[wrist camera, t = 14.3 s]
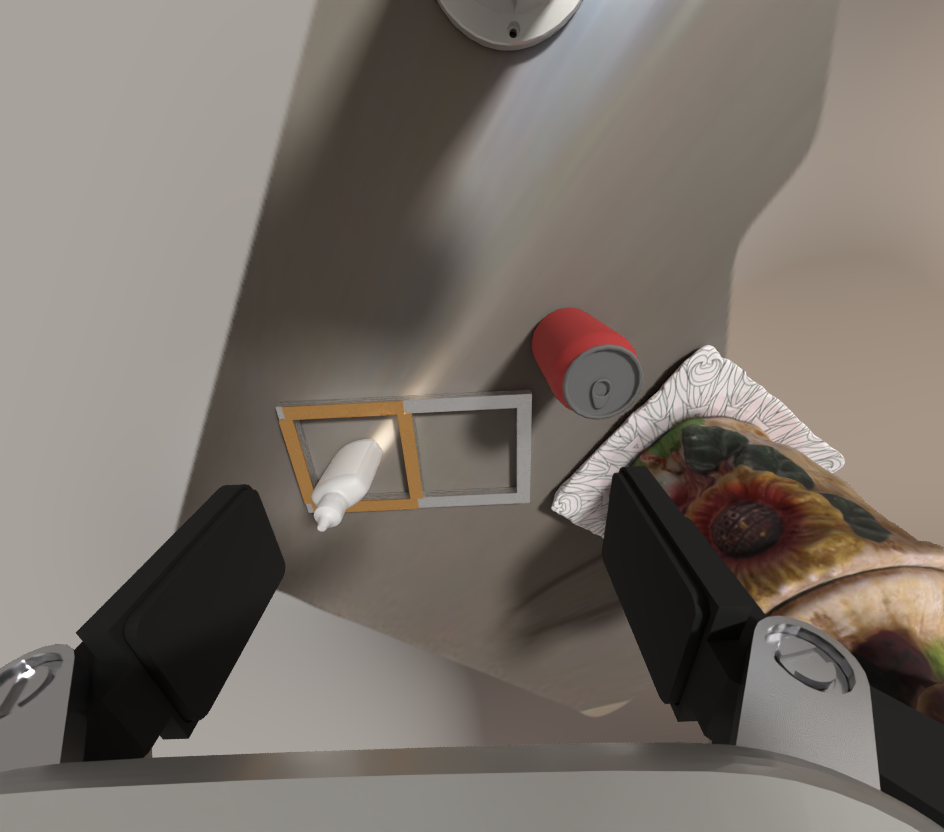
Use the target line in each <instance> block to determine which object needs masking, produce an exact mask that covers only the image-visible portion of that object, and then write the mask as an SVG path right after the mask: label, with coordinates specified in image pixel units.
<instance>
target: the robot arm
mask: <svg viewBox="0 0 944 832" xmlns="http://www.w3.org/2000/svg"><path fill="white" fill-rule="evenodd" d="M582 1H583V0H437V2H438V4H439V6H440V7H441V9H442V11H443V12H444V13H445V14H446V16H447V17H448V18H449V19H450V21H451V22H452V23H453V25H454V26H455V27H456V28H458V29H459V30H460V31H461V32H462V33H463V34H465V35H466V36H467V37H468V38H470V39H471V40H473V41H475V42H477V43H479V44H481V45H483V46H485V47H489V48H493V49H497V50H520V49H524V48H528V47H532V46H534V45H536V44H538V43H540V42H542V41H544V40H546V39H548V38H549V37H551V36H552V35H553V34H554V33H555V32H557V31H558V30H559V29H560V28H562V27H563V26H564V25H565V24H566V23H567V21H568V20H569V19H570V18H571V17H572V15H573V14H574V13H575V12H576V11H577V9H578V8H579V6H580V5H581V3H582ZM512 31H513V32H515V33H516V37H515V38H511V37H510V35H509V34H510V32H512ZM602 555H603V560H604V563H605V566H606V568H607V571H608V573H609V576H610V578H611V581H612V583H613V585H614V588H615V590H616V593H617V595H618V598H619V600H620V602H621V605H622V607H623V610H624V612H625V615H626V617H627V619H628V622H629V624H630V627H631V629H632V632H633V634H634V636H635V639H636V641H637V644H638V646H639V649H640V651H641V653H642V656H643V658H644V661H645V663H646V666H647V668H648V670H649V673H650V675H651V678H652V680H653V683H654V685H655V687H656V690H657V692H658V694H659V697H660V698H661V700H662V701H663V702H664V703H665V704H669V703H670V704H671V707H672V709H673V711H674V714H675V716H676V718H677V721H678V722H682V721H683V722H684V721H698V723H699V725H700V727H701V729H702V731H703V733H704V735H705V736H706V737H707V738H709V742H708V744H702V743H683V742H681V743H680V742H674V743H576V744H543V745H542V744H540V745H507V746H473V747H472V746H471V747H469V746H468V747H436V748H405V749H375V750H344V751H316V752H286V753H260V754H236V755H211V756H186V757H159V758H152V747H153V745H154V743H155V742H156V740H157V739H158V737H159V735H160V736H161V737H162V739H188V738H189V737H190V735H191V734H192V732H193V730H194V728H195V726H196V725H197V723H198V721H199V720H201V719H203V718H204V717H205V716H206V715H207V714H208V712H209V711H210V709H211V708H212V705H213V704H214V702H215V700H216V698H217V697H218V695H219V693H220V691H221V689H222V687H223V686H224V684H225V682H226V680H227V678H228V677H229V675H230V673H231V671H232V669H233V667H234V665H235V664H236V662H237V660H238V658H239V656H240V655H241V653H242V651H243V649H244V647H245V646H246V644H247V642H248V640H249V638H250V636H251V635H252V633H253V631H254V629H255V627H256V625H257V624H258V621H259V620H260V618H261V616H262V614H263V613H264V611H265V609H266V607H267V605H268V604H269V602H270V600H271V598H272V596H273V594H274V593H275V591H276V589H277V587H278V585H279V584H280V582H281V580H282V578H283V576H284V573H285V562H284V559H283V556H282V554H281V551H280V549H279V546H278V543H277V541H276V538H275V535H274V533H273V530H272V528H271V525H270V522H269V520H268V517H267V514H266V512H265V509H264V507H263V504H262V501H261V499H260V496H259V494H258V492H257V491H256V490H253V489H252V488H251V487H250V486H249V485H246V484H243V485H225V486H222V487H221V488H219V489H218V490H217V491H216V492H215V493H214V494H213V495H212V496H211V497H210V498H209V499H208V500H207V501H206V502H205V503H204V504H203V505H202V506H201V507H200V508H199V509H198V510H197V511H196V512H195V513H194V514H193V515H192V516H191V517H190V518H189V519H188V520H187V521H186V522H185V523H184V524H183V525H182V526H181V527H180V528H179V529H178V530H177V531H176V532H175V533H174V534H173V535H172V536H171V537H170V538H169V539H168V540H167V541H166V542H165V543H164V544H163V546H161V548H160V549H158V550H157V551H156V552H155V554H154V555H153V556H152V557H151V558H150V559H149V560H148V561H147V562H146V563H145V564H144V565H143V566H142V567H141V568H140V569H139V570H138V571H137V572H136V573H135V574H134V575H133V576H132V577H131V578H130V579H129V580H128V581H127V582H126V583H125V584H124V585H123V586H122V587H121V588H120V589H119V590H118V591H117V592H116V593H115V594H114V595H113V596H112V597H111V598H110V599H109V600H108V601H107V602H106V603H105V604H104V605H103V606H102V607H101V608H100V609H99V610H98V611H97V612H96V613H95V614H94V615H93V616H92V617H91V618H90V619H89V620H88V621H87V622H86V623H85V624H84V625H83V626H82V627H81V628H80V629H79V630H78V631H77V632H76V634H77V635H78V636H79V637H80V639H81V640H82V641H83V642H82V643H81V644H80V645H79V646H78V647H77V648H76V649H75V650H74V649H72V648H71V647H70V646H68V645H63V644H55V645H51V646H46V647H42V648H39V649H37V650H34V651H32V652H29V653H27V654H24V655H23V656H21V657H19V658H17V659H15V660H13V661H12V662H10V663H8V664H6V665H5V666H3V667H2V668H0V832H944V725H943V724H941V723H939V722H938V721H936V720H934V719H932V718H930V717H928V716H926V715H924V714H923V713H921V712H919V711H917V710H915V709H913V708H911V707H909V706H907V705H906V704H904V703H902V702H900V701H898V700H896V699H894V698H892V697H891V696H889V695H887V694H885V693H883V692H881V691H879V690H877V689H875V688H874V687H872V686H870V685H869V682H868V679H867V676H866V673H865V671H864V670H863V668H862V667H861V665H860V664H859V662H858V661H857V659H856V658H855V657H854V656H853V655H852V654H851V653H850V652H849V651H848V650H847V649H846V648H845V647H844V646H843V645H842V644H841V643H839V642H838V641H837V640H835V639H834V638H833V637H831V636H830V635H828V634H827V633H826V632H824V631H822V630H820V629H818V628H816V627H815V626H813V625H811V624H809V623H806V622H803V621H800V620H797V619H795V618H791V617H784V616H772V617H767V616H766V615H765V613H764V612H763V611H762V609H761V608H760V607H759V606H758V604H757V603H756V602H755V601H754V599H753V598H752V597H751V595H750V594H749V593H748V592H747V590H746V589H745V588H744V586H743V585H742V584H741V583H740V581H739V580H738V579H737V578H736V576H735V575H734V574H733V572H732V571H731V570H730V569H729V567H728V566H727V565H726V563H725V562H724V561H723V560H722V558H721V557H720V556H719V555H718V553H717V552H716V551H715V549H714V548H713V547H712V546H711V544H710V543H709V542H708V540H707V539H706V538H705V537H704V535H703V534H702V533H701V532H700V530H699V529H698V528H697V526H696V525H695V524H694V523H693V522H692V521H691V520H690V519H689V518H688V517H685V516H684V515H683V514H682V512H681V511H680V510H679V508H678V507H677V506H676V505H675V503H674V502H673V501H672V499H671V498H670V497H669V495H668V494H667V493H666V492H665V490H664V489H663V488H662V486H661V485H660V484H659V482H658V481H657V480H656V478H655V477H654V476H653V475H652V473H651V472H650V471H649V469H648V468H647V467H646V466H626V467H621V468H620V470H619V472H618V473H614V474H613V476H612V482H611V489H610V496H609V504H608V511H607V518H606V525H605V533H604V540H603V547H602Z"/></svg>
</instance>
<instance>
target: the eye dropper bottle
mask: <svg viewBox="0 0 944 832" xmlns="http://www.w3.org/2000/svg"><path fill="white" fill-rule="evenodd" d="M382 456H383V451H382V449H381V447H380V446H379V444H378V443H377V442H376V441H375V440H374V439H362V440H357V441H354V442H351V443H349V444H347V445H346V446H344V447H343V448H342V449H340V450H339V451H338V452H337V453H336V455H335V456H334V457H333V459H332V461H331V462H330V464H329V466H328V467H327V469H326V470H325V472H324V474H323V475H322V477H321V479H320V480H319V482H318V484H317V485H316V487H315V489H314V490H313V492H312V496H311V498H312V501H313V502H314V504H315V505H316V506H317V508H316V509H315V511H314V518H315V520H316V522H317V523H318V527H317V528H318V530H319V531H322V532H323V531H325V530H326V529H327V528H328V527H334V526H337V525H338V524H339V523H340V522H341V520H342V518H343V515H344V513H345V511H346V509H348V508H350V507H351V506H353V505H355V504H356V503H357V502H359V501H360V500H361V499H362V498H363V497H364V496H365V495H366V493H367V492H368V490H369V488H370V486H371V483H372V481H373V478H374V476H375V473H376V471H377V468H378V466H379V463H380V461H381V458H382Z"/></svg>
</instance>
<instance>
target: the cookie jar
mask: <svg viewBox="0 0 944 832" xmlns="http://www.w3.org/2000/svg"><path fill="white" fill-rule="evenodd" d="M746 375H747V374H746V371H745V370H742V369H741V368H739V367H738V366H737V365H736V364H735V363H733V362H732V361H731V360H729V359H725V358H722V357H721V356H720V354H719V352H717V351H716V349H715V348H714V347H712V346H710V345H704V346H703V347H701V348H700V349H698V350H697V351H696V352H695V353H694V354H693V355H692V356H690V357H689V358H688V359H687V360H685V361H684V362H683V363H682V364H681V365H680V366H679V368H678V369H677V370H676V371H675V372H674V373H673V374H672V375H671V376H670V377H669V379H668V380H667V381H666V382H665V383H664V384H663V385H662V386H661V388H660V390H659V391H658V392H657V393H655V394H654V395H653V396H652V397H651V398H650V399H648V401H647V402H646V403H645V404H643V405H642V406H641V407H639V408H638V409H637V410H635V411H634V412H633V413H632V414H631V415H630V416H629V417H628V418H627V419H626V420H625V422H624V423H623V424H622V425H621V426H620V427H619V428H618V429H617V430H616V431H615V432H614V433H613V434H612V435H611V436H610V437H609V438H608V439H607V440H606V441H605V442H604V443H603V444H602V445H601V446H600V447H599V448H598V449H597V450H596V451H595V452H594V453H593V454H592V455H591V456H590V457H589V458H588V459H587V460H586V461H585V462H584V463H583V464H582V465H581V466H580V467H579V468H578V469H577V470H576V471H575V472H574V473H573V474H572V476H571V477H570V478H569V479H567V480H566V481H565V482H564V483H563V484H562V485H561V486H560V487H559V489H558V490H557V491H556V493H555V496H554V501H553V504H552V507H551V509H552V510H553V511H555V512H557V513H558V514H559V515H562V516H564V517H565V518H567V519H568V520H570V521H571V522H572V523H573V524H575V525H578V526H580V527H582V528H584V529H586V530H590V531H591V532H592V533H593V534H596V535H599V536H601V537H602V538H603V539H604V533H605V525H606V518H607V511H608V504H609V496H610V489H611V482H612V476H613V474H614V473H618V472H619V470H620V468H621V467H626V466H646V467H647V468H648V469H649V471H650V472H651V473H652V475H653V476H654V477H655V478H656V480H657V481H658V482H659V484H660V485H661V486H662V488H663V489H664V490H665V492H666V493H667V494H668V495H669V497H670V498H671V499H672V501H673V502H674V503H675V505H676V506H677V507H678V508H679V510H680V511H681V512H682V514H683V515H684V516H685V517H688V518H689V519H690V520H691V521H692V522H693V523H694V524H695V525H696V526H697V528H698V529H699V530H700V532H701V533H702V534H703V535H704V537H705V538H706V539H707V540H708V542H709V543H710V544H711V546H712V547H713V548H714V549H715V551H716V552H717V553H718V555H719V556H720V557H721V558H722V560H723V561H724V562H725V563H726V565H727V566H728V567H729V569H730V570H731V571H732V572H733V574H734V575H735V576H736V578H737V579H738V580H739V581H740V583H741V584H742V585H743V586H744V588H745V589H746V590H747V592H748V593H749V594H750V595H751V597H752V598H753V599H754V601H755V602H756V603H757V604H758V606H759V607H760V608H761V609H762V611H763V612H764V613H765V615H766V616H767V617H772V616H784V617H791V618H795V619H797V620H800V621H803V622H806V623H809V624H811V625H813V626H815V627H816V628H818V629H820V630H822V631H824V632H826V633H827V634H828V635H830V636H831V637H833V638H834V639H835V640H837V641H838V642H839V643H841V644H842V645H843V646H844V647H845V648H846V649H847V650H848V651H849V652H850V653H851V654H852V655H853V656H854V657H855V658H856V659H857V661H858V662H859V664H860V665H861V667H862V668H863V670H864V671H865V673H866V676H867V679H868V682H869V685H870V686H872V687H874V688H875V689H877V690H879V691H881V692H883V693H885V694H887V695H889V696H891V697H892V698H894V699H896V700H898V701H900V702H902V703H904V704H906V705H907V706H909V707H911V708H913V709H915V710H917V711H919V712H921V713H923V714H924V715H926V716H928V717H930V718H932V719H934V720H936V721H938V722H939V723H941V724H943V725H944V547H941V546H940V545H937V544H933V543H931V542H927V541H918V540H917V539H915V538H914V537H913V536H911V535H910V534H909V533H907V532H906V531H905V530H903V529H902V528H900V527H899V526H898V525H896V524H895V523H892V522H890V521H888V520H887V519H886V518H885V517H884V516H882V515H881V514H879V513H878V512H877V511H876V510H875V509H873V508H872V507H871V506H870V505H868V504H867V503H866V502H865V501H864V500H863V499H862V497H861V496H860V495H859V494H858V493H857V492H856V491H855V490H854V489H853V488H852V487H851V486H850V485H849V484H848V483H847V482H846V481H844V480H843V479H841V478H840V477H838V476H836V475H835V474H833V473H835V472H836V471H837V470H838V469H840V468H842V467H843V465H844V463H845V459H844V457H843V456H842V455H841V454H840V453H839V452H838V451H837V450H835V449H833V448H832V447H830V446H829V445H828V444H827V443H826V442H824V441H823V440H821V439H820V438H818V437H816V436H815V435H813V433H812V432H811V431H810V430H809V428H808V427H807V426H806V425H805V424H803V423H802V422H800V421H799V420H798V419H797V417H796V416H795V415H794V414H793V413H792V412H791V411H790V410H789V409H788V408H787V407H786V405H785V404H783V403H782V402H780V400H779V399H777V398H776V397H774V396H773V395H770V394H769V393H768V392H767V391H766V390H765V389H764V388H763V387H762V386H761V385H759V384H757V383H756V382H754V381H752V380H751V379H750V378H748V377H747V376H746Z"/></svg>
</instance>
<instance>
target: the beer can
mask: <svg viewBox="0 0 944 832" xmlns="http://www.w3.org/2000/svg"><path fill="white" fill-rule="evenodd" d="M532 352H533V355H534V357H535V359H536V361H537V363H538V365H539V367H540V369H541V371H542V373H543V375H544V376H545V378H546V380H547V382H548V384H549V386H550V388H551V390H552V391H553V393H554V395H555V397H556V398H557V399H558V400H559V401H560V402H561V403H562V404H563V405H564V406H565V407H566V408H568V409H570V410H572V411H574V412H575V413H576V414H578V415H581V416H583V417H585V418H590V419H604V418H610V417H612V416H614V415H617V414H619V413H621V412H622V411H624V410H625V409H626V408H628V407H629V406H630V405H631V404H632V403H633V401H634V400H635V399H636V397H637V396H638V395H639V392H640V389H641V387H642V384H643V370H642V367H641V364H640V361H639V360H638V357H637V355H636V352H635V350H634V348H633V347H632V345H631V344H630V343H629V342H628V341H627V340H626V338H624V337H623V336H621V335H620V334H618V333H617V332H615V331H614V330H612V329H611V328H609V327H607V326H606V325H604V324H603V323H601V322H600V321H598V320H597V319H595V318H594V317H592V316H591V315H589V314H587V313H585V312H584V311H582V310H580V309H574V308H564V309H559V310H556V311H554V312H552V313H550V314H548V315H547V316H546V317H545V318H544V319H543V320H542V321H541V322H540V323H539V324H538V326H537V328H536V330H535V331H534V334H533V339H532Z"/></svg>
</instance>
